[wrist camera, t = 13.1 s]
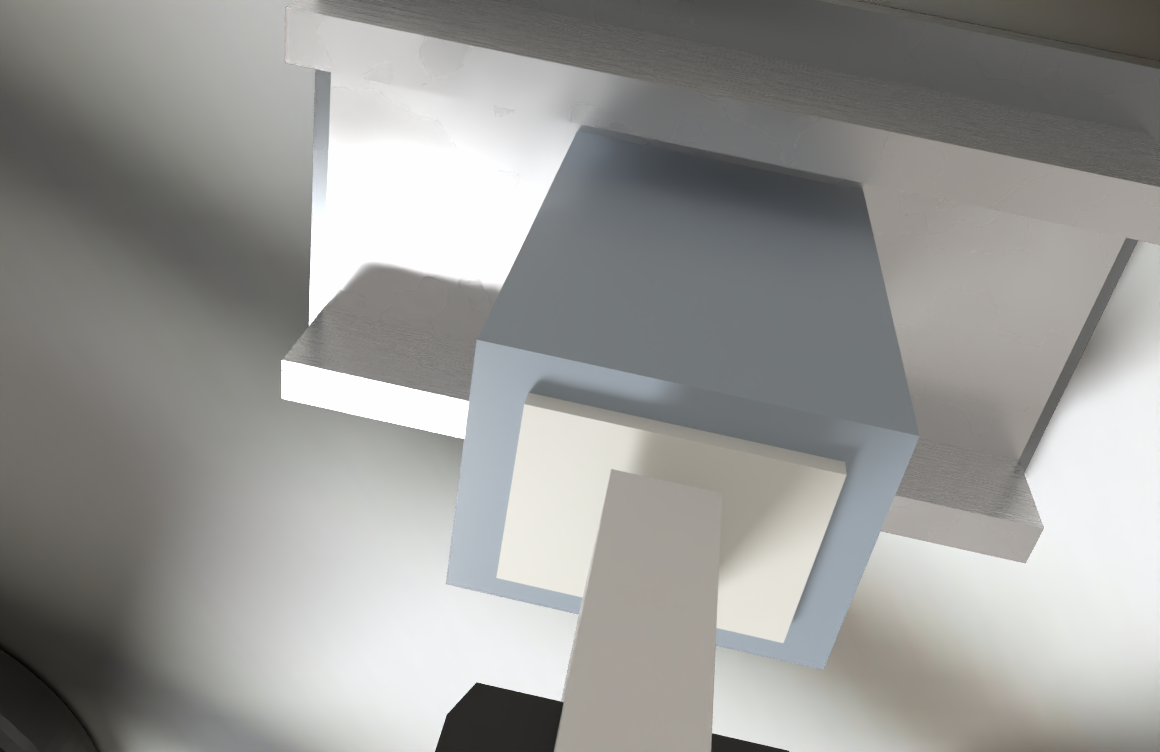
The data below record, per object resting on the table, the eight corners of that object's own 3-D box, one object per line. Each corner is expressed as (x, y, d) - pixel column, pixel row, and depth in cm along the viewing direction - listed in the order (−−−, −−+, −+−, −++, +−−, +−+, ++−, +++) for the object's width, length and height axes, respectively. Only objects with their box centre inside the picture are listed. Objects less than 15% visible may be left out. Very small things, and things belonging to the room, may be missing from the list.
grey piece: (319, 345, 28) (251, 436, 24) (333, -105, 22) (247, -75, 18) (998, 494, 27) (1035, 611, 23) (1201, 69, 21) (1294, 137, 17)
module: (546, 318, 24) (441, 596, 16) (577, 131, 22) (471, 350, 14) (803, 374, 24) (824, 685, 16) (863, 190, 21) (922, 449, 14)
